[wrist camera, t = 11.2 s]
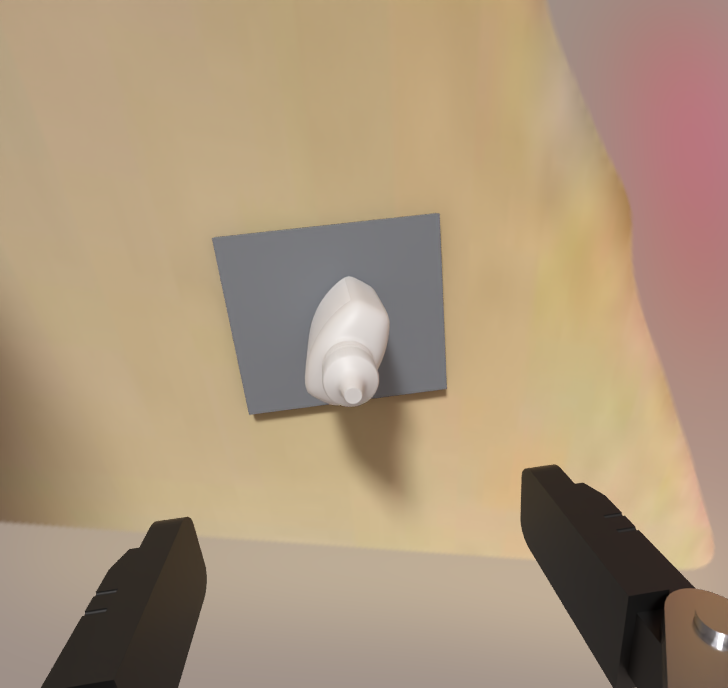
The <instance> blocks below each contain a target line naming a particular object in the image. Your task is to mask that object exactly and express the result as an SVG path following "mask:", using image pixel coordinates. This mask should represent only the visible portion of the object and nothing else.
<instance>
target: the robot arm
mask: <svg viewBox="0 0 728 688" xmlns="http://www.w3.org/2000/svg"><path fill="white" fill-rule="evenodd" d="M521 527H522V532H523V535H524V538H525V541H526V543H527V545H528V547H529V549H530V551H531V552H532V554H533V556H534V557H535V559H536V561H537V562H538V564H539V565H540V567H541V569H542V570H543V572H544V574H545V575H546V577H547V579H548V580H549V582H550V584H551V585H552V587H553V589H554V590H555V592H556V594H557V595H558V597H559V599H560V600H561V602H562V604H563V605H564V607H565V609H566V610H567V612H568V614H569V615H570V617H571V619H572V620H573V622H574V623H575V625H576V627H577V629H578V630H579V632H580V634H581V635H582V637H583V638H584V640H585V642H586V643H587V645H588V647H589V648H590V650H591V652H592V653H593V655H594V657H595V658H596V660H597V662H598V663H599V665H600V667H601V668H602V670H603V672H604V673H605V675H606V677H607V678H608V680H609V682H610V683H611V685H612V687H613V688H635V687H637V688H728V599H727V598H725V597H723V596H720V595H718V594H715V593H712V592H709V591H705V590H700V589H696V588H695V587H694V586H693V585H691V584H690V582H689V581H688V580H687V579H686V578H685V577H684V576H683V575H682V574H681V573H680V572H679V571H678V570H677V569H676V568H675V567H674V566H673V565H672V564H671V563H670V562H669V561H668V560H667V559H666V558H665V557H664V556H663V555H662V554H661V553H660V551H659V550H658V549H657V548H656V547H655V546H654V545H653V544H652V543H651V542H650V541H649V540H648V539H647V538H646V537H645V536H644V535H643V534H642V533H641V532H640V531H639V530H636V528H635V526H634V525H633V524H632V523H631V522H630V521H629V520H628V519H627V518H626V516H622V512H621V511H620V510H619V509H618V508H617V507H616V506H615V505H614V504H613V503H612V502H611V501H610V500H609V499H608V498H607V497H606V496H605V495H603V494H602V493H600V492H598V491H596V490H595V489H593V488H591V487H590V486H588V485H586V484H585V483H578V484H574V483H573V481H572V480H571V479H570V478H569V477H568V476H567V475H566V474H565V473H564V471H563V470H562V469H561V468H560V467H559V466H557V465H547V466H540V467H533V468H527V469H524V470H523V472H522V484H521ZM206 584H207V575H206V567H205V563H204V559H203V556H202V552H201V549H200V546H199V542H198V538H197V535H196V531H195V528H194V524H193V522H192V520H191V518H189V517H183V518H177V519H170V520H163V521H156V522H154V523H153V524H152V525H151V527H150V528H149V530H148V532H147V534H146V536H145V538H144V540H143V542H142V544H141V546H140V547H139V548H134V549H129V550H128V551H127V552H126V553H125V554H124V555H123V556H122V557H121V558H120V559H119V560H118V561H117V562H116V563H115V564H114V565H113V566H112V567H111V568H110V569H109V570H108V572H107V574H106V576H105V578H104V579H103V581H102V583H101V584H100V586H99V588H98V590H97V591H96V596H95V597H93V598H92V600H91V602H90V603H89V605H88V607H87V609H86V611H85V616H82V617H81V619H80V621H79V622H78V624H77V626H76V628H75V629H74V631H73V633H72V635H71V637H70V638H69V640H68V642H67V644H66V645H65V647H64V649H63V650H62V652H61V654H60V655H59V657H58V659H57V661H56V663H55V664H54V666H53V668H52V669H51V671H50V673H49V675H48V676H47V678H46V680H45V681H44V683H43V685H42V687H41V688H178V686H179V682H180V679H181V675H182V672H183V669H184V665H185V662H186V658H187V655H188V652H189V648H190V645H191V642H192V638H193V634H194V631H195V628H196V625H197V621H198V618H199V614H200V611H201V608H202V604H203V601H204V597H205V593H206Z"/></svg>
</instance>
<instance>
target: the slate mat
mask: <svg viewBox="0 0 728 688" xmlns="http://www.w3.org/2000/svg"><path fill="white" fill-rule="evenodd" d="M212 241H213V246H214V250H215V255H216V260H217V265H218V269H219V274H220V279H221V284H222V288H223V293H224V298H225V303H226V307H227V312H228V317H229V322H230V326H231V331H232V336H233V341H234V345H235V350H236V355H237V360H238V364H239V369H240V374H241V379H242V383H243V388H244V393H245V398H246V402H247V407H248V412H249V415H251V414H259V413H266V412H274V411H282V410H289V409H297V408H304V407H312V406H320V405H327V404H328V403H326V402H323V401H321V400H319V399H317V398H315V397H313V396H312V395H311V394H309V393H308V392H307V389H306V386H305V370H306V359H307V349H308V340H309V333H310V327H311V323H312V320H313V317H314V314H315V312H316V310H317V308H318V306H319V304H320V302H321V301H322V299H323V298H324V296H325V295H326V294H327V293H328V291H329V290H330V289H331V288H332V287H333V286H334V285H335V284H336V283H338V282H339V281H340V280H341V279H343V278H345V277H348V276H350V277H354V278H356V279H358V280H360V281H362V282H364V283H366V284H367V285H369V286H371V287H372V288H373V289H374V290H375V292H376V294H377V295H378V297H379V299H380V301H381V302H382V304H383V306H384V308H385V310H386V312H387V314H388V317H389V322H390V323H389V336H388V342H387V347H386V350H385V354H384V356H383V359H382V362H381V364H380V366H379V368H378V373H379V385H378V388H377V390H376V393H374V394H375V395H373V397H371V399H373V398H381V397H388V396H396V395H403V394H411V393H419V392H426V391H434V390H441V389H447V384H446V360H445V335H444V311H443V287H442V262H441V238H440V213H434V214H425V215H415V216H406V217H397V218H388V219H378V220H369V221H360V222H351V223H342V224H332V225H323V226H314V227H305V228H296V229H286V230H277V231H268V232H259V233H250V234H240V235H231V236H222V237H214V238H212Z"/></svg>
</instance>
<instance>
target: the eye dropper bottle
mask: <svg viewBox="0 0 728 688" xmlns="http://www.w3.org/2000/svg"><path fill="white" fill-rule="evenodd" d="M389 323H390V322H389V317H388V314H387V312H386V310H385V308H384V306H383V304H382V302H381V301H380V299H379V297H378V295H377V294H376V292H375V290H374V289H373V288H372V287H371V286H369V285H367V284H366V283H364V282H362V281H360V280H358V279H356V278H354V277H350V276H348V277H345V278H343V279H341V280H340V281H339V282H338V283H336V284H335V285H334V286H333V287H332V288H331V289H330V290H329V291H328V293H327V294H326V295H325V296H324V298H323V299H322V301H321V302H320V304H319V306H318V308H317V310H316V312H315V314H314V317H313V320H312V323H311V327H310V333H309V340H308V349H307V359H306V370H305V386H306V389H307V392H308V393H309V394H311V395H312V396H313V397H315V398H317V399H319V400H321V401H323V402H326V403H328V404H331V405H337V406H338V405H341V406H346V407H348V406H349V407H354V406H355V407H356V406H359V405H362V404H364V403H366V402H367V401H369V399H371V397H373V395H375V394H374V393H376V390H377V388H378V385H379V373H378V368H379V366H380V364H381V362H382V359H383V356H384V354H385V350H386V347H387V342H388V336H389Z"/></svg>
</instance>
